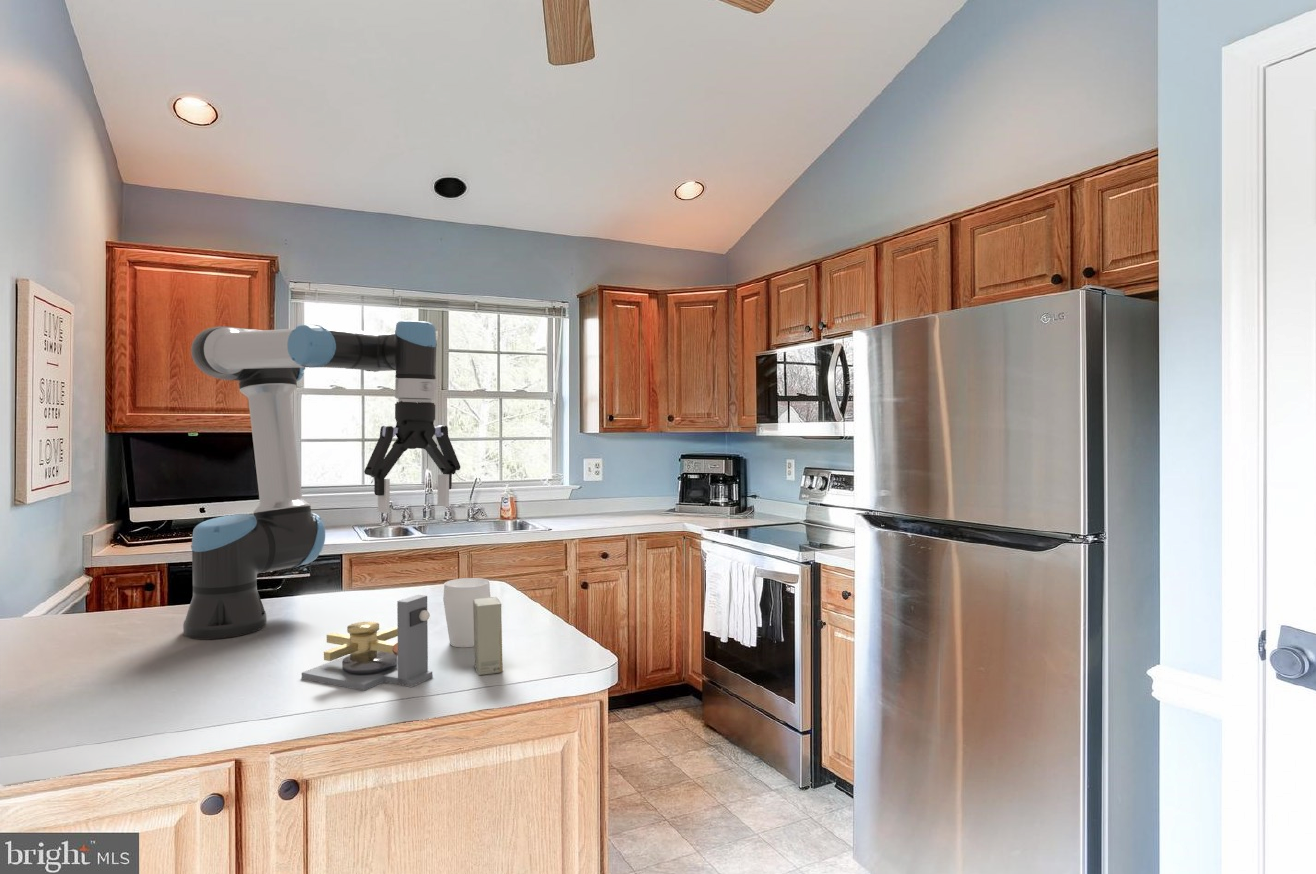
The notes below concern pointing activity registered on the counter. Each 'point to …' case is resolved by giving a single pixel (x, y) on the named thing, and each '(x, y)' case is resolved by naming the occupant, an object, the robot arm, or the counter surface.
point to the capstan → (364, 648)
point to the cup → (463, 608)
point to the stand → (409, 656)
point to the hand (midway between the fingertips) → (414, 509)
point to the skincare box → (487, 635)
